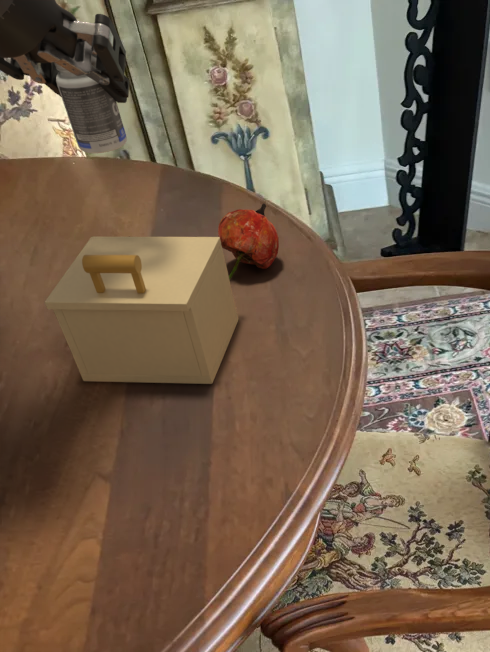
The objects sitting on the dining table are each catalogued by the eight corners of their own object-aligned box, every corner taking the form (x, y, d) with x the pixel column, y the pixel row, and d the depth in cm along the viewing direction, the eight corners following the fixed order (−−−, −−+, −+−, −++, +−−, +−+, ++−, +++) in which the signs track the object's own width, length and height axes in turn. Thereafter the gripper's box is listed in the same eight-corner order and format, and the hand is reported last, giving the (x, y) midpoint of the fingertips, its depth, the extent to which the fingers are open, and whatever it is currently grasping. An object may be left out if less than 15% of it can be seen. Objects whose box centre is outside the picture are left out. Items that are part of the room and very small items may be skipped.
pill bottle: (135, 145, 76) (107, 47, 70) (88, 158, 75) (55, 59, 68) (117, 131, 79) (89, 35, 73) (72, 143, 77) (39, 46, 71)
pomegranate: (263, 303, 94) (307, 230, 93) (218, 271, 88) (263, 193, 87) (232, 286, 98) (273, 216, 97) (187, 254, 93) (230, 179, 92)
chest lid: (188, 311, 73) (176, 267, 70) (47, 309, 74) (28, 266, 71) (221, 244, 81) (211, 202, 78) (94, 243, 82) (79, 202, 79)
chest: (212, 384, 80) (190, 307, 73) (83, 381, 81) (50, 305, 75) (238, 319, 88) (221, 244, 81) (120, 317, 89) (94, 243, 82)
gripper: (63, -81, 57) (171, 53, 74) (-110, -78, 59) (33, 51, 76) (55, 26, 57) (164, 134, 74) (-116, 25, 60) (27, 130, 76)
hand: (97, 92), depth 75 cm, fingers closed on pill bottle, 4 cm apart
